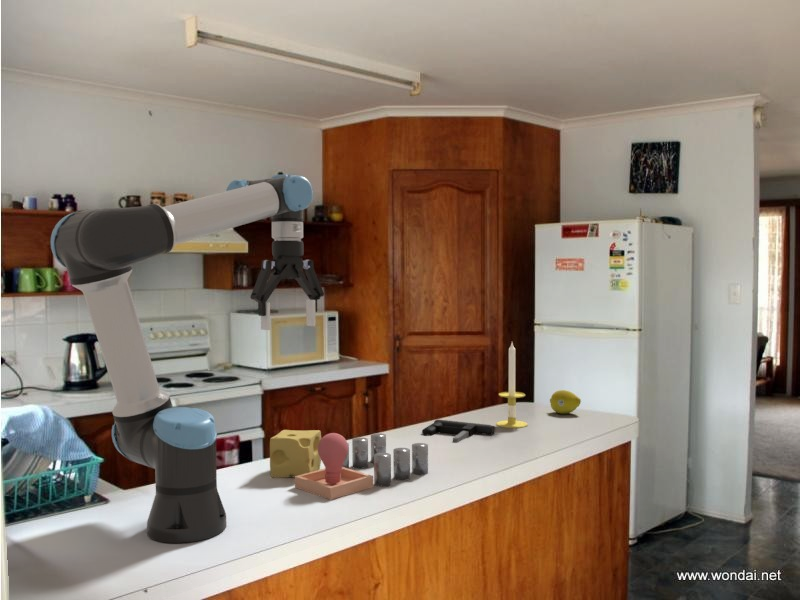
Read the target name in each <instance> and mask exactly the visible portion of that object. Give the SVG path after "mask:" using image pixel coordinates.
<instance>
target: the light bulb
mask: <svg viewBox="0 0 800 600" xmlns="http://www.w3.org/2000/svg"><path fill="white" fill-rule="evenodd" d="M347 443H348V441H347V440H346V438H345V437H344V436H343V435H341V434H339V433H337V432H330V433H327V434H325V435H324V436H323V437H322V436H321V440H320V442H319V444H318V454H319V456H320V458H321V463H323V465H324V469H325V471H326V474H325V480H326V481H325V482H326V483H329V484H336V483H339V482H340V481H341V480H340V477H341V471H342V465H343V463H344V461H345V458H346V456H347V453H348V444H347Z"/></svg>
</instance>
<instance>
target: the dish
mask: <svg viewBox="0 0 800 600" xmlns="http://www.w3.org/2000/svg"><path fill="white" fill-rule="evenodd" d="M325 474H326V471H325V468H321V469H319V470H317V471H313V472H310V473H306V474H302V475H298V476H295V477H294V488H295V489H299V490H302V491H304V492H307V493H310V494H313V495H316V496H319V497H322V498H325V499H327V500H330V501H331V500H334V499H338V498H340V497H345V496H348V495H351V494H353V493H354V494H355V493H358V492H361V491H364V490H368V489H371V488H374V475H371V474H369V473H364V472H362V471H358V470H356V469H351V468H349V469H348V468H345V467H342V471H341V477H340V480H341V481H340V482H339V483H336V484H329V483H326V482H325V481H326V480H325Z"/></svg>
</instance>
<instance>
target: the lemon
mask: <svg viewBox="0 0 800 600" xmlns="http://www.w3.org/2000/svg"><path fill="white" fill-rule="evenodd" d="M581 402H582V400H581V398H580V397H578V395H576V394H575V393H573V392H571V391H570V390H566V389H565V390H557V391H555V392H553V393H552V395H551V397H550V399H549V403H550V407H551V409H552V411H554V412H555V413H558V414H561V415H566V414H567V415H568V414H570V413H573V412H574V411H575V410H577V408H578V407H579V406H580V404H581Z"/></svg>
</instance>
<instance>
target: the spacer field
mask: <svg viewBox="0 0 800 600" xmlns="http://www.w3.org/2000/svg"><path fill="white" fill-rule="evenodd" d="M351 441H352V442H351V443H352V444H351V447H352V449H351V451H352V453H351V454H352V468H353V467H354V468H353V469H359V470H361V469H366V468H368V467H369V439H368V438H366V437H355V438H352V440H351ZM347 444H348V453H347V456H346V458H345V461H344V463H343V465H342V467H345V468H348V469H350V443H349V442H347ZM392 450H393V453H392V454H393V457H392V454H390V453H388V452H387V434H385V433H379V432H378V433H372V434H370V462H371V463H373V486H376V487H380V488H381V487H389V486H391V485H392V473H391V472H392V467H391V465H392V458H393V480H395V481H399V482H400V481H401V482H402V481H409V480H410V479H411V473H412V475H417V476H424V475H428V474H429V444H428V443H423V442H417V443H415V442H414V443H412V445H411V450H410V448H407V447H395V448H393V449H392Z"/></svg>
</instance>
